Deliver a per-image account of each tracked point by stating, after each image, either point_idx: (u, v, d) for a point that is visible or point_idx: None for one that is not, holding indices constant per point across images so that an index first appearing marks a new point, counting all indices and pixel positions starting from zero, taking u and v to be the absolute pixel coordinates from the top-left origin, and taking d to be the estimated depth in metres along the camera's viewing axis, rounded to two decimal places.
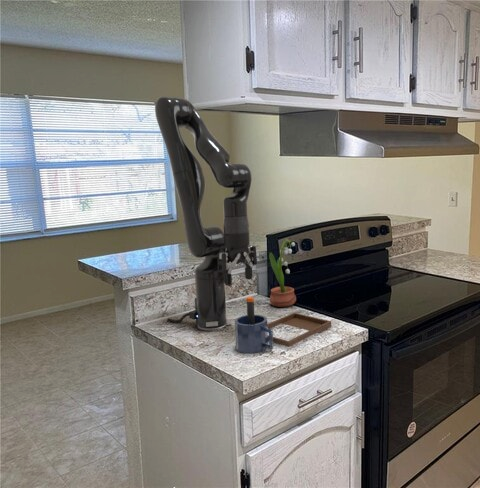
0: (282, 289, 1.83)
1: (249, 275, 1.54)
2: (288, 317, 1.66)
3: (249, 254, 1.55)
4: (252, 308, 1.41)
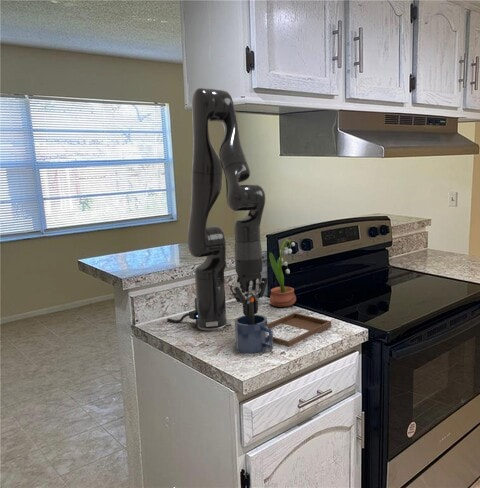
0: (282, 289, 1.83)
1: (254, 309, 1.42)
2: (288, 317, 1.66)
3: None
4: (252, 308, 1.41)
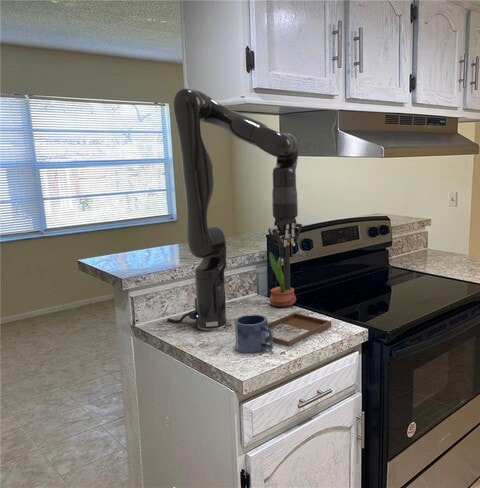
0: (282, 289, 1.83)
1: (290, 253, 1.51)
2: (288, 317, 1.66)
3: None
4: (288, 251, 1.50)
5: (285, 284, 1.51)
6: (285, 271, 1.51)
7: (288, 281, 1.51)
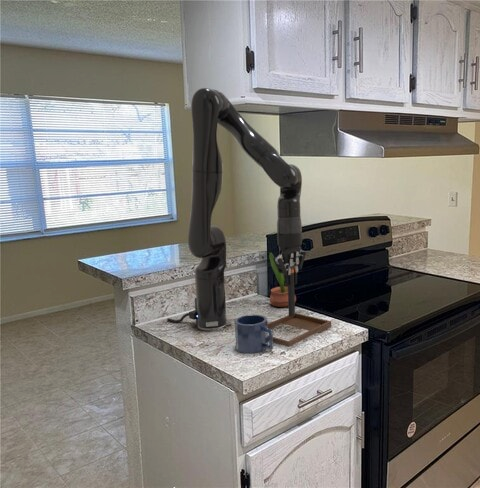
0: (282, 289, 1.83)
1: (294, 280, 1.54)
2: (288, 317, 1.66)
3: None
4: (292, 279, 1.53)
5: (289, 311, 1.55)
6: (290, 298, 1.54)
7: (292, 308, 1.54)
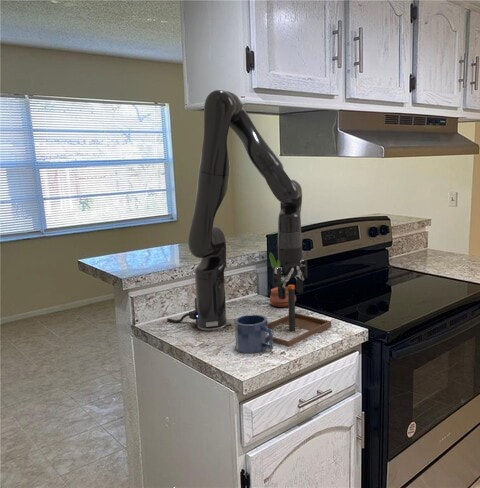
0: None
1: (300, 288, 1.57)
2: (288, 317, 1.66)
3: (300, 268, 1.58)
4: (293, 295, 1.54)
5: (290, 326, 1.55)
6: (290, 314, 1.55)
7: (293, 323, 1.55)
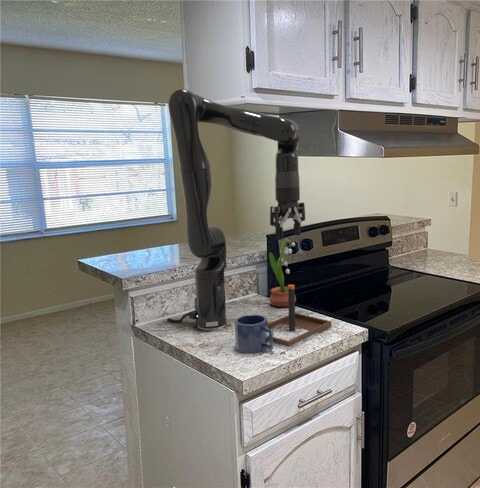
0: (282, 289, 1.83)
1: (298, 231, 1.58)
2: (288, 317, 1.66)
3: (298, 211, 1.59)
4: (293, 295, 1.54)
5: (290, 326, 1.55)
6: (290, 314, 1.55)
7: (293, 323, 1.55)
